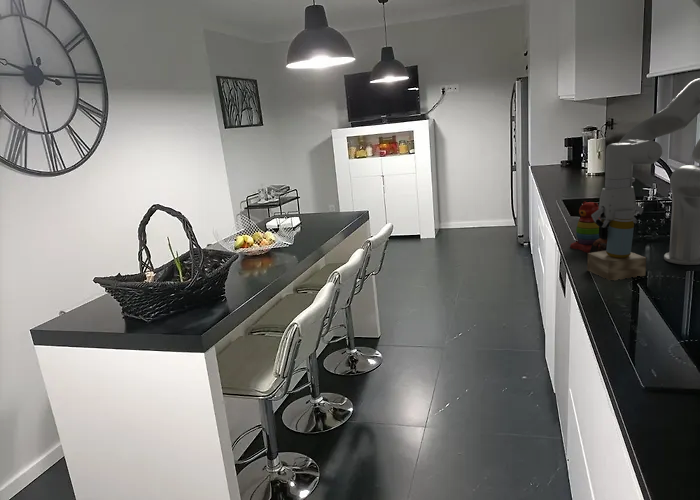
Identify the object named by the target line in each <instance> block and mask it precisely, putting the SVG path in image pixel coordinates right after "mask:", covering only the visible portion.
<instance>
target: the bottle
mask: <svg viewBox="0 0 700 500" xmlns="http://www.w3.org/2000/svg"><path fill="white" fill-rule="evenodd" d="M633 217H634V210H633V209H632V210H625V211H615V215H614V218H615V219H614V220H612V221H609V223H608V230H607V238H608V239H607V248H606V253H607V254H608V255H609V256H610V257H614V258H627V257H628V256H630V254H631V252H632V246H633V245H632V244H633V237H634V236H633V230H634V223H633Z"/></svg>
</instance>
